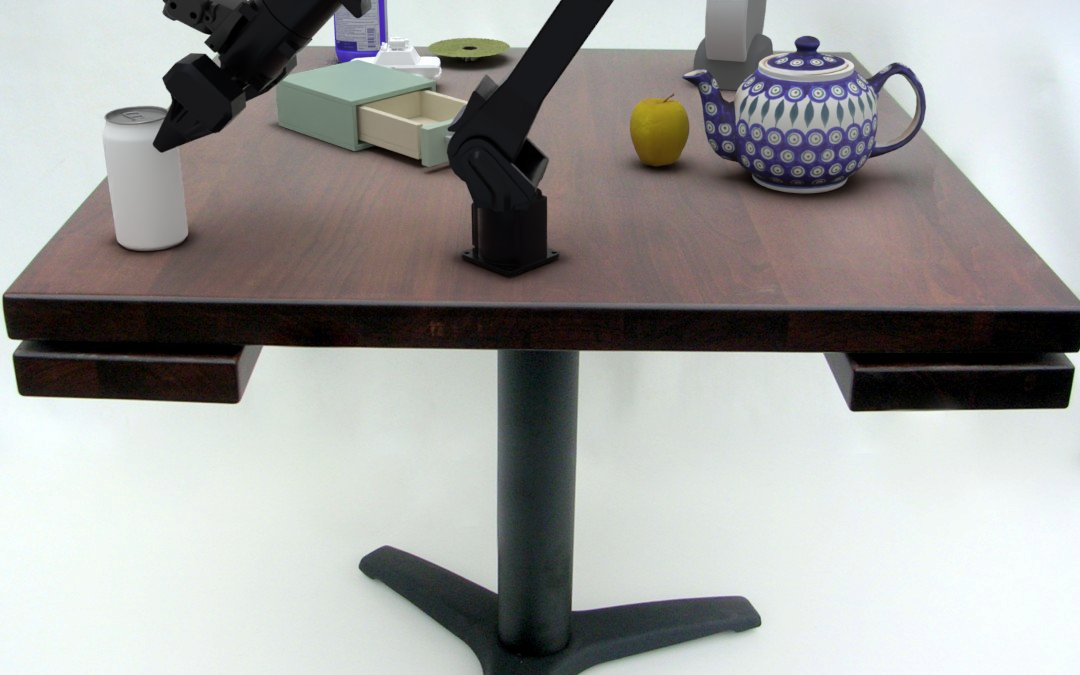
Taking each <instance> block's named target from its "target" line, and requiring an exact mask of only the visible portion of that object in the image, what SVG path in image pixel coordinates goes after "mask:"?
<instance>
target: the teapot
mask: <svg viewBox="0 0 1080 675" xmlns="http://www.w3.org/2000/svg"><path fill="white" fill-rule="evenodd" d="M793 43H794V46H795V48H796V51H795V52H784V53H778V54H777V53H775V54H773V55H771V56H768V57H766V58H764V59H762V60H761V61H760V62H759V67H758V68H757V69H756V71H755V72H754V73H753V74H752V75H750V76H749V77H748V78H746V79H745V80H744V81H743V83H742V84H741V85H740V87H739V88H738V90H736V92H735V95H734V97H733V100H731V101H728V100H726V99H725V98H724V97H723V94H722V93H721V89H719V85H718V84H717V82H716V80H715V79H714V77H713V75H712V74H711V73H710V72H709V71H708V70H704V69H700V70H695V71H693V70H692V71H689V72H687V73H685V74H683V75H682V77H681V78H682V79H683V80H685V81H686V82H688V83H690V84H692V85H694V86H695V85H696V86H697V87H696V86H695V87H696V88H697V90H698V92H699V96H700V101H701V107H702V115H703V116H702V117H703V123H704V130H705V132H704V133H705V135H706V139H707V142H708V144H709V145H710V147H711V148H712V150H713V151H714V153H715V154H716V155H717V156H718V157H720V158H721V159H723V160H726V161H730V162H733V163H734V162H735V163H738V164H739V165H740V166H741V167H742V168H743V169H744V170H746V171H747V172H749V173H751V176H752V179H753V180H754V181H755V182H756V183H757V184H759V185H760V186H762V187H765V188H767V189H771V190H774V191H779V192H784V193H790V194H791V193H794V194H818V193H826V192H830V191H831V192H832V191H835V190H837V189H839V188H841V187H843V186H844V185H845V184H846V182H847V181H848V178H850V177H851V176H853V175H854V174H856V173H857V172H858V171H859V170H861V168H862V167H863V166H864V165H865V164H866V163H867V161H868V160H869V159H873V158H876V157H880V156H883V155H886V154H890V153H892V152H894V151H897V150H899V149H901V148H902V147H904V146H905V145H907V144H909V143H910V142H911V141H912V140H913V139H914V138H915V137H916V136H917V134H918V133H919V131H920V130H921V128H922V126H923V123H924V121H925V117H926V112H927V111H926V110H927V102H926V101H927V100H926V93H925V89H924V86H923V84H922V83H921V81H920V79H919V77H918V76H917V74H916V73H915V72H914V71H913V70H912V68H910V67H909V66H907V65H906V64H904V63H903V62H892V63H890V64H888V65H886V66H884V67H883V68H882V69H880V70H879V71H878V72H876V73H875V74H874V75H872V76H871V77H869V78H865V77H864V76H863V75H861V74H860V73H859V72H858V71H856V70H855V64H854V63H853V62H852V61H851V60H848V59H846V58H844V57H841V56H838V55H832V54H827V53H822V52H821V53H820V52H818V51H817V50H818V49H819V48H820V46H821V41H820V39H819V38H817V37H815V36H812V35H802V36H800V37H797V38H796V39H795V40H794V42H793ZM895 75H900V76H902V77H904V79H905V80H906V82H908V83H909V84H910V86H911V88H912V90H913V92H914V94H915V101H916V102H915V103H916V104H915V112H914V116H913V118H912V121H911V122H910V124H909V125H908V126H907V128H906V129H905V130H904V131H903V132H902V133H901V134H900V135H897V137H895V138H893V139H890V140H888V141H885V142H881V141H878V140H876V138H877V131H878V120H879V119H878V118H879V117H878V116H879V114H878V100H879V98H880V97H881V94H882V91H883V89H884V87H885V85H886V83H887V81H888V80H889V78H891V77H892V76H895Z"/></svg>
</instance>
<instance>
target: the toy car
mask: <svg viewBox="0 0 1080 675" xmlns="http://www.w3.org/2000/svg"><path fill="white" fill-rule="evenodd" d="M409 43H410V40H409V38H406V37H402V36H398V35H393V36H389V37H388V43H384V42H382V46H381V49H380V51H379V52H378V54H377V55H376V57H367V58H355V59H353V60H351V61H354V60H361V61H365V62H368V63H372V64H376V65H379V66H383V67H387V68H390V69H394V70H398V71H401V72H405V73H409V74H412V75H416V76H419V77H423V78H427V79H430V80H434V81H438V80H440V79H441V77H442V74H443V72H442V71H443V70H442V67H441V59H440V58H439V57H438V56H420V54H419V53H418V52H417V50H416V49H415V47H414V46H413V45H409Z"/></svg>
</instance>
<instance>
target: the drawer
mask: <svg viewBox="0 0 1080 675" xmlns="http://www.w3.org/2000/svg"><path fill="white" fill-rule="evenodd" d="M468 101H469V100H468ZM468 101H467V100H464V99H461V98H457V97H454V96H451V95H446V94H444V93H439V92H437V91H436V92H433V91H429V90H425V89H420V90H416V91H412V92H408V93H404V94H400V95H396V96H392V97H388V98H384V99H380V100H376V101H372V102H368V103H364V104H360V105H356V117H357V134H358V140H361V141H364V142H367V143H370V144H373V145H376V146H375V147H379V148H383V149H386V150H389V151H392V152H395V153H398V154H401V155H404V156H407V157H409V158H412V159H415V160H421V166H424V167H427V168H431V167H434V166H438V165H442V164H444V163H449V160H448V155H447V147H448V143H449V141H450V139H451V137H452V136H453V134H454V133H455V132H449V131H448V130H447V129H448V127H449V126H450V124H451V123H452V121H453V120H454V118H455V117H456V116H457V114H458V113H459V111H460V110H461V109H462V107H463V106H465V105H466V104H467V103H468Z"/></svg>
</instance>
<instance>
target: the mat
mask: <svg viewBox="0 0 1080 675" xmlns="http://www.w3.org/2000/svg"><path fill="white" fill-rule="evenodd" d="M510 49H511V45H510V44H508V42H505V41H503V40H498V39H491V38H482V37H481V38H480V37H461V38H460V37H458V38H456V37H455V38H450V39H444V40H443V39H442V40H438V41H436V42H433V43H431V44H429V45H428V47H427V50H428V51H429V52H431V53H433V54H435V55H439V56H442V57H451V58H461V60H462V61H464V62H468V61H473V62H474V61H477V60H478V58H481V57H490V56H495V55H499V54H504V53H505V52H507V51H508V50H510Z"/></svg>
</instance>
